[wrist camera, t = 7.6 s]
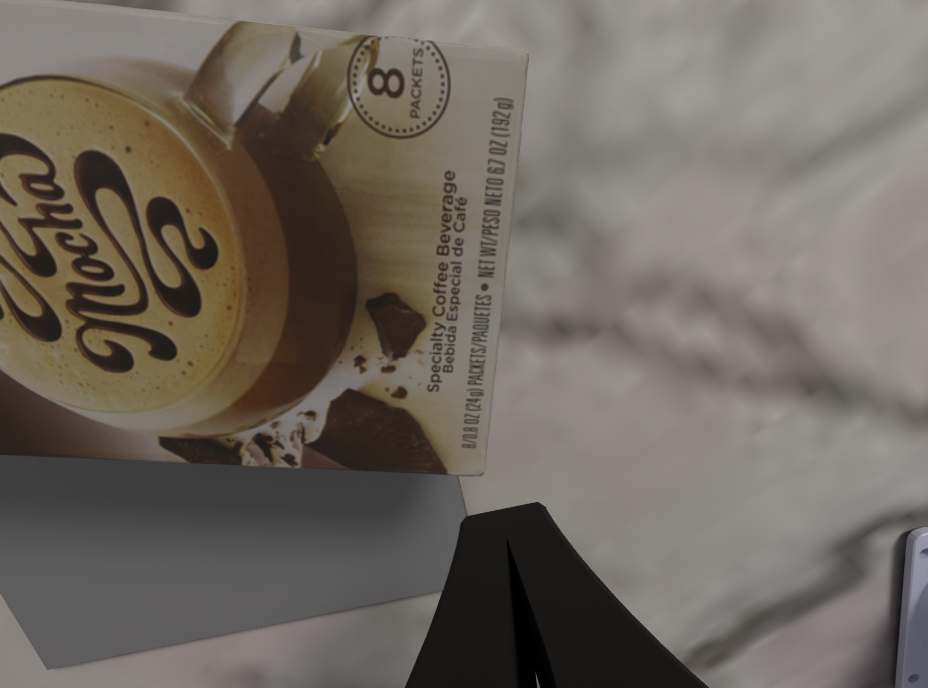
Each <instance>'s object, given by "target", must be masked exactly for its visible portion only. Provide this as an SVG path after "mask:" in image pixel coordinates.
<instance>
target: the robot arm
mask: <svg viewBox="0 0 928 688" xmlns="http://www.w3.org/2000/svg"><path fill="white" fill-rule="evenodd" d="M535 671H536V673H535ZM536 675H537V678H538V682H539V685H540V688H709V687H708V686H707V685H705V684H704V683H703V682H702V681H701V680H700V679H699V678H697V677H696V676H695V675H694V674H693V673H692V672H691V671H690V670H689V669H688V668H687V667H686V666H684V665H683V664H682V663H681V662H680V661H679V660H678V659H677V658H676V657H675V656H674V655H673V654H672V653H671V652H670V651H669V650H667V649H666V648H665V647H664V646H663V645H662V644H661V643H660V642H659V641H658V640H657V639H656V638H655V637H654V636H653V635H652V634H651V633H650V632H649V631H648V630H647V629H646V628H645V627H644V626H643V625H642V624H641V623H640V622H639V621H638V620H637V619H636V618H635V617H634V616H633V615H632V614H631V613H630V612H629V611H628V609H627V608H626V607H625V606H624V605H623V604H622V603H621V602H620V601H619V600H618V599H617V598H616V597H615V596H614V594H613V593H612V592H611V591H610V590H609V589H608V588H607V587H606V585H605V584H604V583H603V582H602V581H601V580H600V579H599V578H598V576H597V575H596V574H595V573H594V572H593V571H592V570H591V569H590V567H589V566H588V565H587V564H586V563H585V561H584V560H583V559H582V558H581V557H580V555H579V554H578V553H577V552H576V550H575V549H574V548H573V546H572V545H571V544H570V543H569V541H568V540H567V539H566V537H565V536H564V535H563V533H562V532H561V531H560V529H559V528H558V526H557V525H556V523H555V522H554V520H553V519H552V517H551V516H550V514H549V512H548V511H547V509H546V507H545V506H544V505H542V504H540V503H539V502H535V503H530V504H525V505H520V506H515V507H510V508H505V509H500V510H495V511H490V512H485V513H481V514H476V515H471V516H466V517H465V518H464V520H463V521H462V522H461V524H460V530H459V535H458V540H457V544H456V548H455V552H454V556H453V559H452V563H451V566H450V570H449V573H448V576H447V580H446V583H445V586H444V588H443V591H442V594H441V597H440V600H439V603H438V606H437V609H436V611H435V614H434V617H433V620H432V623H431V625H430V628H429V631H428V633H427V636H426V638H425V641H424V643H423V645H422V648H421V650H420V653H419V655H418V657H417V660H416V662H415V665H414V667H413V669H412V672H411V674H410V677H409V679H408V681H407V684H406V686H405V688H537V682H536ZM895 688H928V526H927V527H922V528H918V529H915V530H913V531H912V532H911V533H910V534H909V535H908V537H907V544H906V556H905V569H904V581H903V594H902V607H901V619H900V632H899V644H898V657H897V669H896V682H895Z"/></svg>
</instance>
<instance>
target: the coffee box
mask: <svg viewBox="0 0 928 688" xmlns="http://www.w3.org/2000/svg"><path fill="white" fill-rule="evenodd" d="M528 61H529V56H528V53H527V52H526V51H525V50H522V49H518V48H508V47H497V46H487V45H477V44H467V43H458V42H448V41H437V40H426V39H416V38H405V37H394V36H380V35H368V34H361V33H353V32H346V31H336V30H326V29H317V28H309V27H300V26H292V25H283V24H274V23H265V22H257V21H249V20H240V19H230V18H220V17H211V16H203V15H194V14H185V13H176V12H167V11H157V10H147V9H137V8H128V7H120V6H112V5H103V4H93V3H80V2H71V1H62V0H0V455H12V456H36V457H54V458H80V459H99V460H120V461H136V462H165V463H195V464H220V465H238V466H257V467H280V468H311V469H328V470H353V471H374V472H395V473H418V474H437V475H452V476H482V475H483V474H484V470H485V464H486V455H487V445H488V436H489V427H490V417H491V408H492V399H493V389H494V380H495V371H496V361H497V352H498V343H499V333H500V324H501V315H502V305H503V296H504V286H505V277H506V268H507V258H508V249H509V241H510V235H511V227H512V218H513V208H514V199H515V189H516V180H517V171H518V162H519V154H520V145H521V136H522V134H521V127H522V118H523V109H524V100H525V90H526V80H527V70H528Z"/></svg>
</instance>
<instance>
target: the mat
mask: <svg viewBox="0 0 928 688" xmlns="http://www.w3.org/2000/svg"><path fill="white" fill-rule="evenodd" d="M466 516H468V515H467V511H466V507H465V502H464V498H463V494H462V490H461V486H460V482H459V477H458V476H452V475H437V474H418V473H395V472H374V471H353V470H328V469H311V468H280V467H257V466H238V465H220V464H195V463H165V462H136V461H120V460H99V459H80V458H54V457H36V456H12V455H0V594H1V595H2V597H3V598H4V600H5V602H6V603H7V605H8V607H9V608H10V610H11V612H12V613H13V615H14V616H15V618H16V620H17V621H18V623H19V625H20V626H21V628H22V629H23V631H24V633H25V634H26V636H27V638H28V639H29V641H30V642H31V644H32V646H33V647H34V649H35V651H36V652H37V654H38V656H39V657H40V659H41V660H42V662H43V664H44V665H45V667H46V669H47V670H49V669H54V668H59V667H64V666H69V665H74V664H79V663H84V662H89V661H94V660H99V659H104V658H109V657H114V656H119V655H124V654H129V653H134V652H139V651H144V650H149V649H154V648H159V647H164V646H169V645H174V644H178V643H183V642H188V641H193V640H198V639H203V638H208V637H213V636H218V635H223V634H228V633H233V632H238V631H243V630H248V629H253V628H258V627H263V626H268V625H273V624H278V623H283V622H288V621H293V620H298V619H303V618H308V617H313V616H318V615H323V614H328V613H333V612H338V611H343V610H347V609H352V608H357V607H362V606H367V605H372V604H377V603H382V602H387V601H392V600H397V599H402V598H407V597H412V596H417V595H422V594H427V593H432V592H437V591H442V590H443V588H444V586H445V583H446V580H447V576H448V573H449V570H450V566H451V563H452V559H453V556H454V552H455V548H456V544H457V540H458V535H459V530H460V524H461V522H462V521H463V520H464V518H465V517H466Z"/></svg>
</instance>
